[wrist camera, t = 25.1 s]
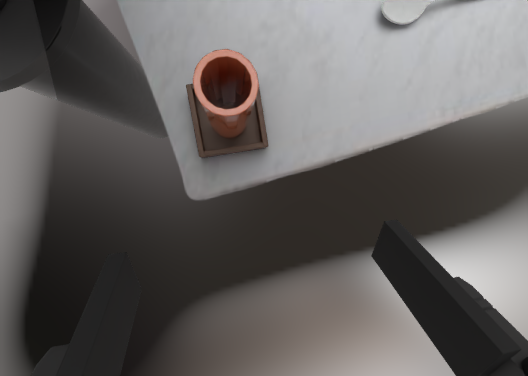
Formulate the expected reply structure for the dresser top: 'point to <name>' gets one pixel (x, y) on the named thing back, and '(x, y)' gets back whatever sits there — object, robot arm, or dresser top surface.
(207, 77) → the orange hollow tube
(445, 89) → the dresser top surface
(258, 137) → the tray
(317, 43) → the dresser top surface
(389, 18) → the spoon
